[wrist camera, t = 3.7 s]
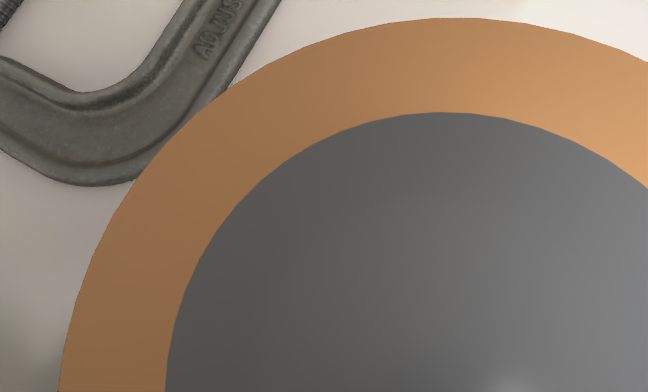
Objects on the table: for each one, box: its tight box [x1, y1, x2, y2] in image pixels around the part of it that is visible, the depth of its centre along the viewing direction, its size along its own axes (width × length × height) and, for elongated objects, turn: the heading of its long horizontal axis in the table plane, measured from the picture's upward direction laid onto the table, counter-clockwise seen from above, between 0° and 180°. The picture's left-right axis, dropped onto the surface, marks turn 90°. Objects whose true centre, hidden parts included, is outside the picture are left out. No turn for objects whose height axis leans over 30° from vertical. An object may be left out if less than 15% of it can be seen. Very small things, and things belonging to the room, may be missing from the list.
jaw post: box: [58, 18, 648, 392], centre depth 8 cm, size 5×5×13 cm
